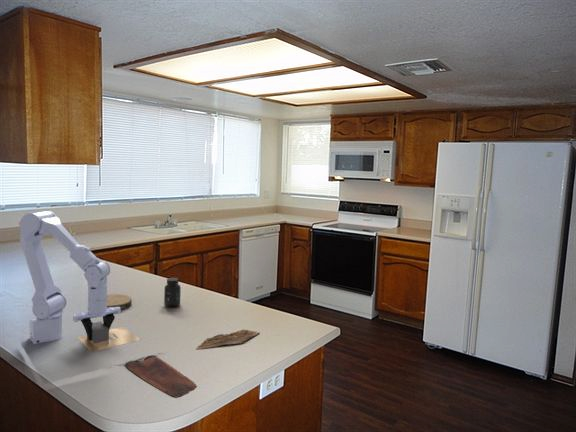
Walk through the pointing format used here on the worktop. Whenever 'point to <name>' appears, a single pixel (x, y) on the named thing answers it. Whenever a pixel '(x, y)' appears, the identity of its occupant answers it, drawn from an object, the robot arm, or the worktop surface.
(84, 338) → the oak board
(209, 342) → the wooden fragment
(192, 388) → the wooden tablet
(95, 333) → the block
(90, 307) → the robot arm
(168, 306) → the supplement bottle
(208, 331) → the worktop surface
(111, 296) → the wood log slice
